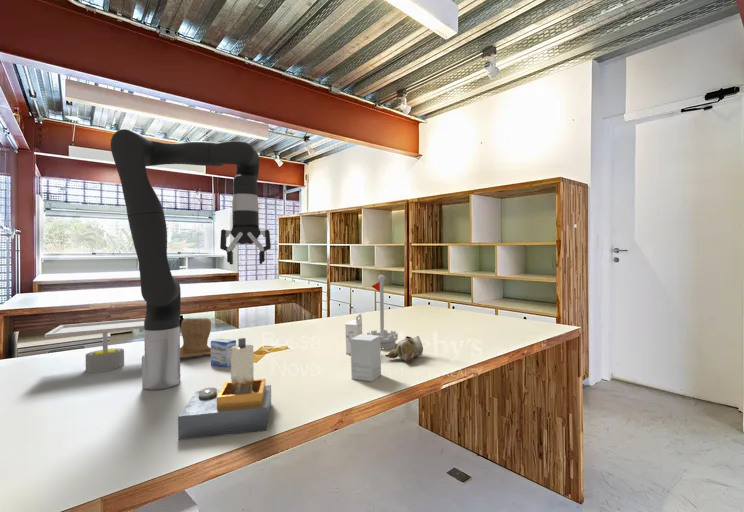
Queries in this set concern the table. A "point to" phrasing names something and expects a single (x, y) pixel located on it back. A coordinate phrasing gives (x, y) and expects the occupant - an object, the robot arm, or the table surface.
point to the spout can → (242, 368)
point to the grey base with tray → (225, 412)
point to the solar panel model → (105, 357)
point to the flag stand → (385, 338)
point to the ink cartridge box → (352, 331)
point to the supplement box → (365, 357)
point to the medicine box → (221, 352)
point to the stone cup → (195, 337)
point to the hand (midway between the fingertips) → (246, 264)
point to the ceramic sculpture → (407, 349)
